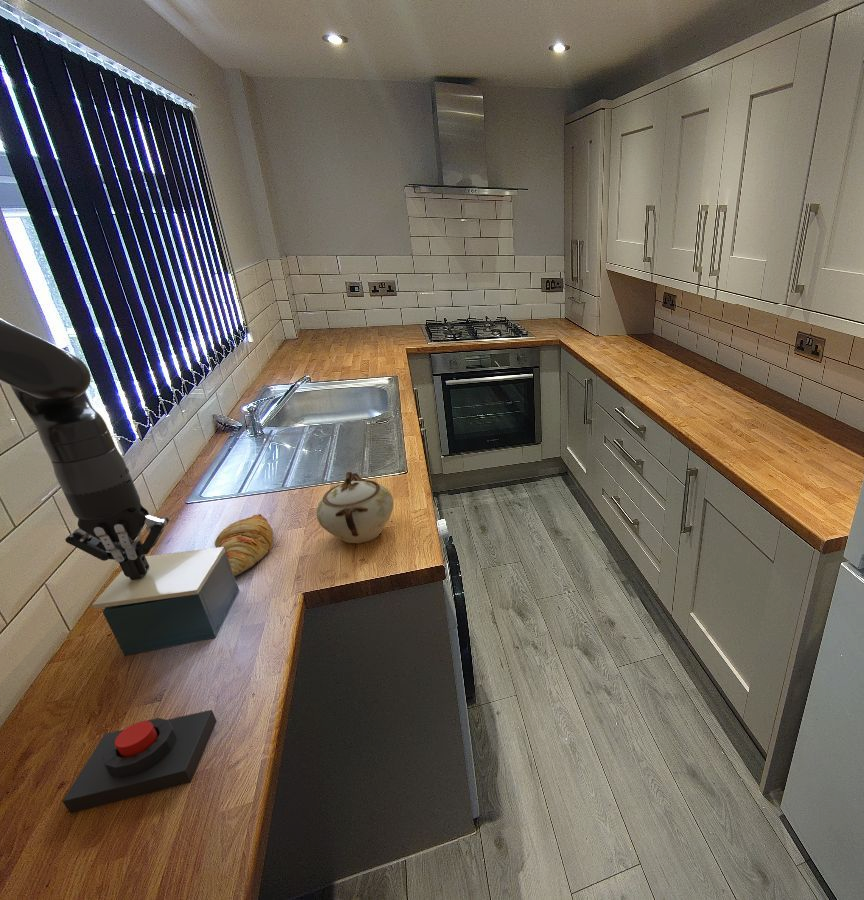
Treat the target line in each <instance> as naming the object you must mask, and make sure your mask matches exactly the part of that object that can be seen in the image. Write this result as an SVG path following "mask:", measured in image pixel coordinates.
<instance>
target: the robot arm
mask: <svg viewBox="0 0 864 900" xmlns="http://www.w3.org/2000/svg"><path fill="white" fill-rule="evenodd" d="M91 378H92V377H91V373H90V370H89V367H88V366H87V365H86V363H84V361H83V360H81V358H79V357H78V356H76V355H75V354H73V353H71V352H69V351H67V350H66V349H64V348H62V347H60V346H58V345H56V344H54V343H52V342H50V341H47V340H46V339H44V338H41V337H39V336H37V335H35V334H33V333H30V332H29V331H27V330H25V329H22V328H20V327H17V325H14V324H11V323H10V322H7V321H6V320H4V319H3V318H1V317H0V381H1V382H4V384H5V383H6V384H8V385H9V386H10V388H11V390H12V392H13V393H14V395H15V397H16V398H17V400H18V402H19V403H20V405H21V406H22V408H23V409H24V411H25V413H26V414H27V416H28V417H29V418H30V419H31V420H32V422H33V424H34V426H35V428H36V431H37V433H38V436H39V439H40V441H41V443H42V446H43V448H44V450H45V452H46V453H47V456H48V458H49V460H50V462H51V465H52V469H53V472H54V476H55V478H56V480H57V483H58V484H59V486H60V489H61V490H62V493H63V495H64V496H65V498H66V501H67V503H68V505H69V507H70V509H71V511H72V513H73V515H74V517H75V518H77V519H78V521H77V527H78V528H76V529H75V530H74V531H72V532H71V533H70V534H69V535H68V536H66V538H65V543H67V544H69V545H71V546H73V547H75V548H77V549H79V550H81V551H82V552H84V553H87V554H89V555H90V556H93V557H95V558H97V559H98V560H101V561H102V562H103V561H108V560H114V561H115V562H118V564H119V566H120V569H121V571H123V573H124V575H125V576H126V577H129V578H130V579H131V580H134V579H140V578H143V577H144V576H145V575H146V573H147V571H148V570H149V567H150V566H149V564H148V562H147V559H146V557H145V556H147V554H149V553H150V552H151V550H152V549H153V548H154V547H155V546H156V545H157V544H158V541H159V539H160V538H161V536H162V534H163V532H164V531H165V528H166V527H167V525H168V524H169V522H170V519H169V518H168V517H167V516H161V517H160V518H159V517H157V516H153V515H151V514H150V513H149V511H148V510H147V508H146V507H144V506H143V505H142V503H141V498H140V494H139V492H138V490H137V488H136V485H135V484H134V480H133V478H132V476H131V474H130V469H129V468H128V467H127V464H126V462H125V459H124V457H123V456H122V454H121V453H120V451H119V450H118V448H117V446H116V444H115V442H114V439H113V436H112V434H111V432H110V430H109V428H108V425H107V423H106V421H105V419H104V418H103V417H102V415H101V414H100V413H99V412H97V410H96V409H94V407H93V406H92V405H91V403H90V400H89V398H88V396H87V394H86V392H87V390H88V389H89V387H90V385H91ZM144 526H146V527H145V529H146V532H148V534H147V537H146V538H145V540H144V542H143V540H142V538H143V534H142V530H143V529H144Z"/></svg>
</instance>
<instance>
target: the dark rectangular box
mask: <svg viewBox="0 0 864 900" xmlns="http://www.w3.org/2000/svg"><path fill="white" fill-rule="evenodd" d="M239 593H240V588H239V585H238V583H237V580H236V576H234V574H233V571H232V568H231V566H230V563H229V560H228V557H227V554H226V552H225V551H224V553H223V554H222V556H221V557H220V559H219V561H218V562H217V564H216V566H215V567H214V569H213V571H212V572H211V574H210V575H209V577H208V579H207V580H206V582H205V584H204V585H203V587H202V588H201V590H200V592H199V593H198V594H195V595H188V596H181V597H174V598H167V599H160V600H153V601H146V602H139V603H132V604H125V605H118V606H110V607H104V608H103V610H102V611H101V612H102V615H103V616H104V618H105V620H106V622H107V624H108V626H109V629H110V631H111V632H112V634H113V636H114V638H115V641H116V642H117V644H118V646H119V648H120V650H121V652H122V654H123V656H128V655H133V654H139V653H144V652H149V651H154V650H159V649H164V648H169V647H174V646H180V645H185V644H189V643H190V644H191V643H195V642H200V641H205V640H209V639H216V637H217V636H218V634H219V632H220V630H221V628H222V626H223V624H224V622H225V620H226V618H227V616H228V614H229V613H230V610H231V608H232V606H233V604H234V602H235V600H236V599H237V596H238V594H239Z"/></svg>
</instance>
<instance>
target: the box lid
mask: <svg viewBox="0 0 864 900" xmlns="http://www.w3.org/2000/svg"><path fill="white" fill-rule="evenodd" d="M224 551H225V549H224V547H218V548H216V547H211V548H210V547H209V548H203V549H193V550H187V551H186V550H185V551H178V552H170V553H169V552H168V553H161V554H153V555H145V557H146V559H147V562H148V564H149V566H150V567H149V570H148V571H147V573H146V575H145V576H144V577H143V578H140V579H134V580H131V579H130V578H129V577H126V576H125V575H124V573H123V571H122V570H121V571H120V572H119V573H118V574H117V575H116V577H115V578H114V579H113V580H112V581H111V582H110V583H109V585H107V587H106V588H105V589H104V590H103V591H102V592H101V594H99V596H98V597H97V598H96V600H94V602H93V603H92V605H91V606H92V608H93V609H94V610H95V609H104V608H105V607H110V606H118V605H125V604H132V603H139V602H146V601H153V600H160V599H167V598H174V597H181V596H188V595H195V594H198V593H199V592H200V590H201V588H202V587H203V585H204V584H205V582H206V580H207V579H208V577H209V575H210V574H211V572H212V571H213V569H214V567H215V566H216V564H217V562H218V561H219V559H220V557H221V556H222V554H223V553H224Z"/></svg>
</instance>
